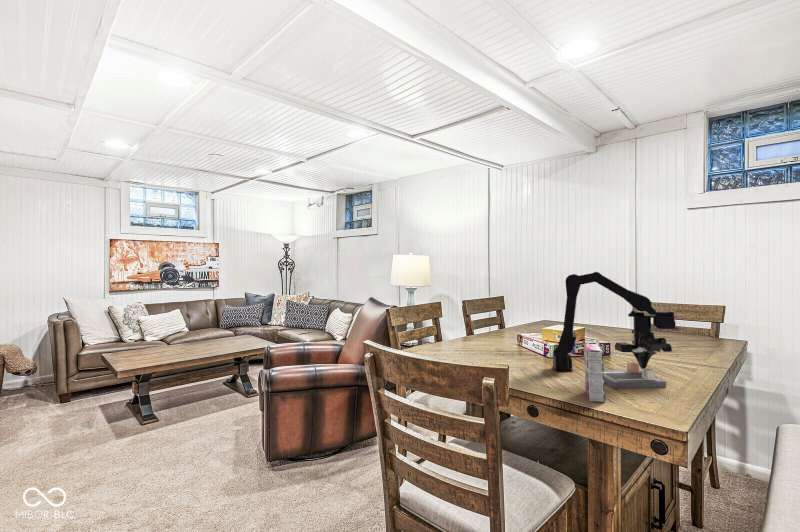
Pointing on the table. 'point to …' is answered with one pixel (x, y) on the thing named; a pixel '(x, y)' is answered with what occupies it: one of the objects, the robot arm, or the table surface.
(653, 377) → the fader
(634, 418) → the table surface
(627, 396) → the table surface
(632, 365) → the block
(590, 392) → the candy bar box
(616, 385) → the console
